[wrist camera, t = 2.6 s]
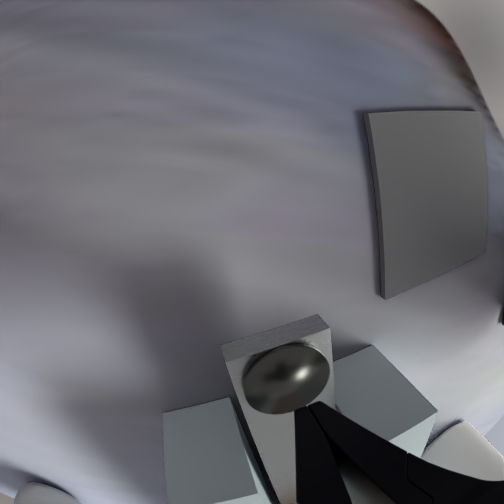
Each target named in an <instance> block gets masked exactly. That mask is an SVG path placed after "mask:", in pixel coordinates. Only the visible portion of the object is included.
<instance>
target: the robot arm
mask: <svg viewBox="0 0 504 504" xmlns="http://www.w3.org/2000/svg"><path fill="white" fill-rule="evenodd" d="M502 325H504V316H503V320H502ZM294 425H295V465H296V504H353V503H354V504H504V480H500V481H489V480H482V479H478V478H474V477H471V476H467V475H464V474H461V473H457V472H454V471H451V470H448V469H445V468H442V467H440V466H437V465H434V464H432V463H430V462H427V461H425V460H423V459H421V458H419V457H417V456H415V455H413V454H411V453H408V454H407V451H405V450H404V449H402V448H400V447H398V446H396V445H394V444H393V443H391V442H389V441H387V440H385V439H384V438H382V437H380V436H378V435H377V434H375V433H373V432H371V431H370V430H368V429H366V428H364V427H363V426H361V425H359V424H358V423H356V422H354V421H353V420H351V419H349V418H348V417H346V416H344V415H343V414H341V413H340V412H338V411H336V410H335V409H333V408H332V407H330V406H328V405H327V404H325V403H324V402H322V401H316V402H314V403H311V404H309V405H308V407H307V406H303V407H300V408H298V409H295V410H294ZM351 500H352V501H351ZM352 502H353V503H352Z"/></svg>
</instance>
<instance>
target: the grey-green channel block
mask: <svg viewBox="0 0 504 504" xmlns="http://www.w3.org/2000/svg"><path fill="white" fill-rule="evenodd" d="M333 373H334V390H335V410H336V411H338V412H340V413H341V414H343V415H344V416H346V417H348V418H349V419H351V420H353V421H354V422H356V423H358V424H359V425H361V426H363V427H364V428H366V429H368V430H370V431H371V432H373V433H375V434H377V435H378V436H380V437H382V438H384V439H385V440H387V441H389V442H391V443H393V444H394V445H396V446H398V447H400V448H402V449H404V450H405V451H407V454H408V453H411V454H413V455H415V456H417V457H419V458H421V455H422V453H423V451H424V448H425V446H426V443H427V441H428V438H429V435H430V433H431V430H432V427H433V425H434V422H435V419H436V416H437V413H438V410H437V409H436V408H435V407H434V406H433V405H432V404H431V403H430V402H429V401H428V400H427V399H426V398H425V397H424V396H423V395H422V394H421V393H420V392H419V391H418V390H417V389H416V388H415V387H414V386H413V385H412V384H411V383H410V382H409V381H408V380H407V379H406V378H405V377H404V376H403V374H402V373H401V372H400V371H399V370H398V369H397V368H396V367H395V366H394V365H393V364H392V363H391V362H390V361H389V360H388V359H387V358H386V357H385V356H384V355H383V354H382V353H381V352H380V351H379V350H378V349H377V348H376V347H375V346H374V345H372V346H369V347H367V348H365V349H362V350H360V351H358V352H356V353H353V354H351V355H348V356H346V357H344V358H341V359H339V360H336V361H334V362H333ZM162 420H163V448H164V466H165V481H166V493H167V504H273V503H272V500H271V498H270V495H269V492H268V489H267V486H266V483H265V481H264V478H263V475H262V473H261V471H260V468H259V466H258V464H257V462H256V459H255V457H254V455H253V452H252V450H251V448H250V445H249V443H248V441H247V438H246V436H245V434H244V431H243V429H242V426H241V424H240V422H239V419H238V417H237V414H236V412H235V409H234V407H233V404H232V402H231V399H230V397H227V398H224V399H220V400H216V401H212V402H208V403H204V404H200V405H196V406H192V407H188V408H184V409H179V410H175V411H170V412H165V413H162ZM351 501H352V500H351ZM352 503H353V502H352ZM353 504H354V503H353Z"/></svg>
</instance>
